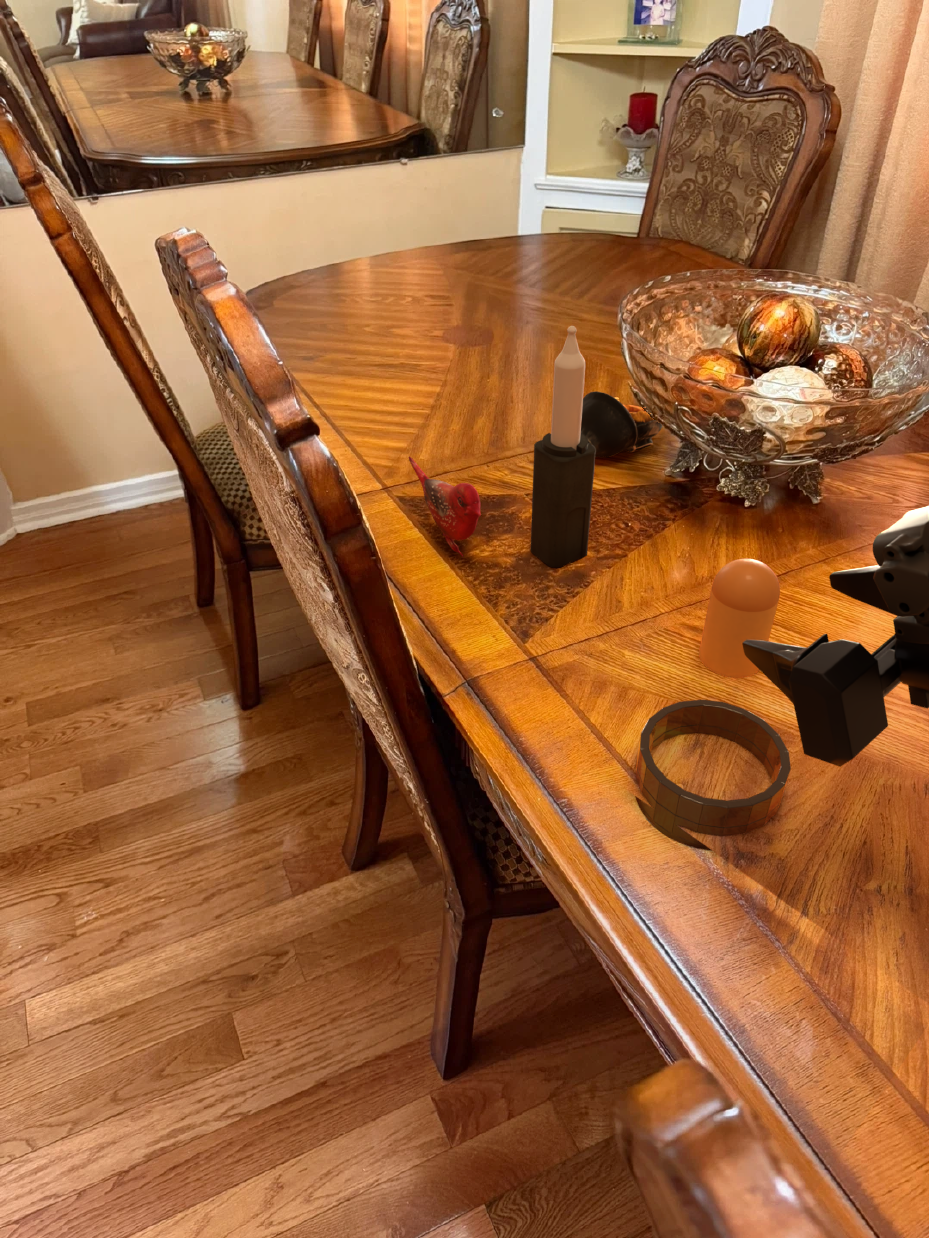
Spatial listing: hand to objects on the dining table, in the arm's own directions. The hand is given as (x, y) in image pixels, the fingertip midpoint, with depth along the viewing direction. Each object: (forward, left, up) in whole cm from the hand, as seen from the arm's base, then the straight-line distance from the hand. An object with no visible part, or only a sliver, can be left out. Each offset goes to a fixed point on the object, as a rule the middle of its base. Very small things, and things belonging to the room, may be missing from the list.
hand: (789, 612), depth 59 cm
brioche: (+9, -11, -18) cm, 23 cm away
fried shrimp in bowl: (+43, -40, -18) cm, 61 cm away
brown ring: (+2, +2, -18) cm, 18 cm away
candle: (+33, -15, -18) cm, 40 cm away
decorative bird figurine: (+44, -8, -18) cm, 48 cm away
